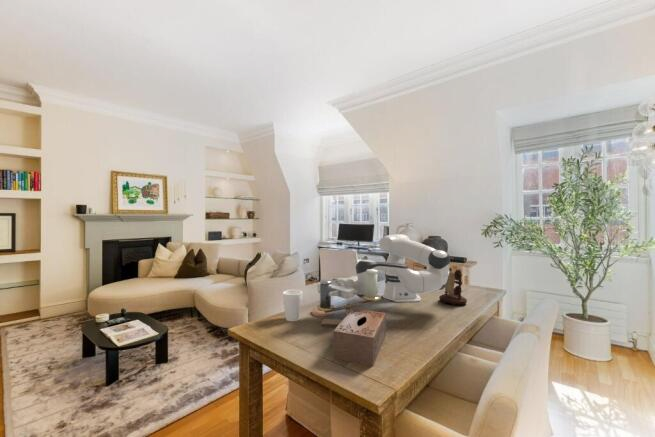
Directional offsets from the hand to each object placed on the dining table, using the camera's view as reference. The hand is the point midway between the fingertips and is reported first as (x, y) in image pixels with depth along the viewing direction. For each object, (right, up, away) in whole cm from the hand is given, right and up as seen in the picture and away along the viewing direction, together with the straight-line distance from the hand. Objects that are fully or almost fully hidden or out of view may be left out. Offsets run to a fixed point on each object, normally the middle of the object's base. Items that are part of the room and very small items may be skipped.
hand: (324, 292), depth 131 cm
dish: (-1, -14, +15) cm, 21 cm away
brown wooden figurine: (+75, -15, +36) cm, 85 cm away
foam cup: (-15, -14, +7) cm, 22 cm away
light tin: (+22, -1, -2) cm, 22 cm away
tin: (+1, -7, +1) cm, 7 cm away
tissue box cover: (+15, -16, -21) cm, 30 cm away
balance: (+11, -15, 0) cm, 18 cm away
